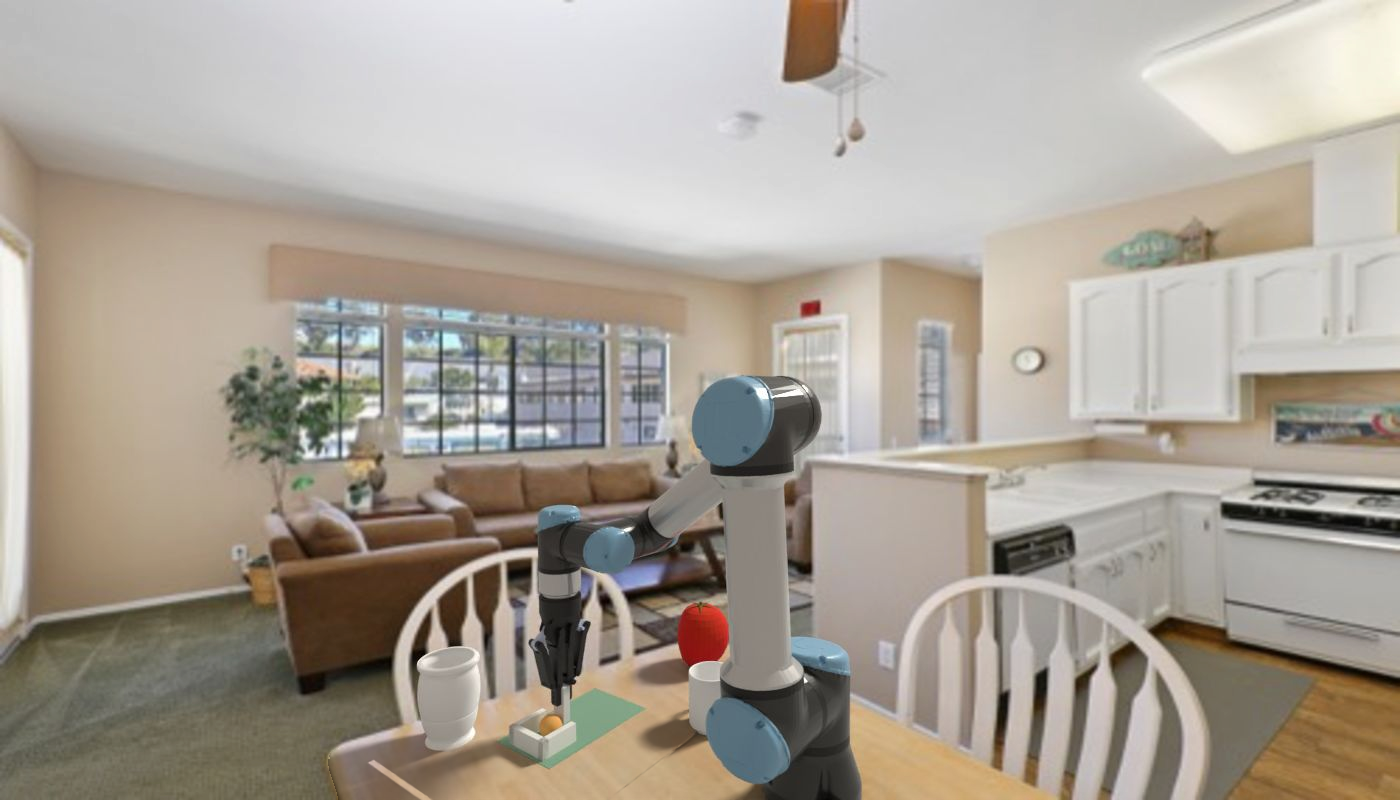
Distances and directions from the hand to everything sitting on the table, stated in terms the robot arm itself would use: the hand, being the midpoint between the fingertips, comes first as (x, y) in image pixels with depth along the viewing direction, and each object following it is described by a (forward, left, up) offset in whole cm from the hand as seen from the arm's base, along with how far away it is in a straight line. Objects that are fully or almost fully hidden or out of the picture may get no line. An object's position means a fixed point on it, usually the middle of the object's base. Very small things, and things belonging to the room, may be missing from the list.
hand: (562, 719), depth 117 cm
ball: (0, +3, 0) cm, 3 cm away
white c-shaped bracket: (0, +5, -2) cm, 5 cm away
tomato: (-4, -38, -3) cm, 38 cm away
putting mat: (0, -3, -3) cm, 4 cm away
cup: (-19, -20, -3) cm, 28 cm away
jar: (+15, +13, -3) cm, 20 cm away
